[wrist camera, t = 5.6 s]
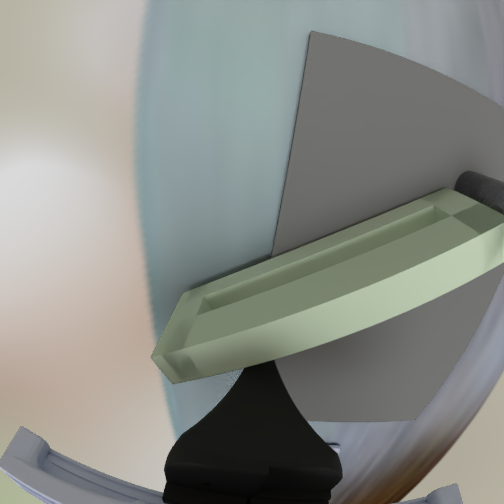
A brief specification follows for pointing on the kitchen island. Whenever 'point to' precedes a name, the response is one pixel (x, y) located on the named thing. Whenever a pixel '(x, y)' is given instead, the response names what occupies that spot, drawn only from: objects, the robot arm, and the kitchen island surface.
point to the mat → (374, 204)
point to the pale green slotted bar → (331, 286)
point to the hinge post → (482, 189)
